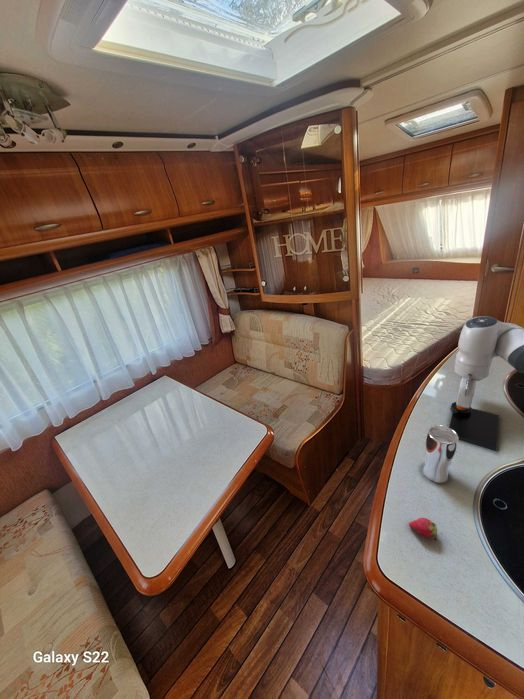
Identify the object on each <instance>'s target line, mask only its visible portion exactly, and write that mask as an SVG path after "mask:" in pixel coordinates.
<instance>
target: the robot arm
mask: <svg viewBox="0 0 524 699" xmlns="http://www.w3.org/2000/svg"><path fill="white" fill-rule="evenodd" d="M457 345H458V352H457V353H456V355H455V361H454V365H453V371H454V373H455V374H456V375H457V376H458V378H459V379H461V380H460V384H459V386H458V392H457V397H456V401H455V402H456V405H457V406H460V407H464V408H470V407H471V408H472V403H473V399H474V394H475V389H476V384H477V382H479V381H482V380H483V379H486V378H488V376H489V374H490V370H491V366H492V362H493V359H494V358H496V357H499V358H501V359H502V360H504V361H505V362H506V363H508V364H509V365H510V366H511V367H512V368H513V369H514V370H515V371H517V372H518V373H519V374H523V375H524V327H522V326H520V325H518V324H515V323H512V322H503V321H500V320H498V319H497V318H496V317H493V316H488V315H487V316H486V315H484V316H483V315H481V316H475V317H472V318H469V319H468V320H466V322H465V323H464V324H463V326H462V329H461V332H460V335H459V339H458V344H457Z"/></svg>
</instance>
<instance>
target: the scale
mask: <svg viewBox="0 0 524 699" xmlns="http://www.w3.org/2000/svg"><path fill="white" fill-rule="evenodd" d="M456 406H457V405H456V401H454V402H452V403H451V405H450V411H451V412H452V414H451V418H450V421H449V426H448V427H449V428H451V429H452V430H454V431H455V432H456V433H457V435H458V437H459V439H458V441H462V442H464V443H468V444H470V445H471V444H472V445H474V446H478V447H481V448H484V449H488V450H491V451H494V452H496V451H497V448H498V434H499V419H500V415H499V414H496V413H491V412H488V411H484V410H480V409H476V408H472V406H471V407H470V408H467V409H466V410H464V411H463V410H459V409H457V407H456Z"/></svg>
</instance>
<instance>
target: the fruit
mask: <svg viewBox="0 0 524 699" xmlns="http://www.w3.org/2000/svg"><path fill="white" fill-rule="evenodd" d="M408 526H409V527H410V528H411V529H413V531H415V532H416V533H417V535H419V536H421V537H423V538H425V539H433V540H434V541H435V542H436V541H438V528H437V523H436V522H433V521H432V520H430V519H429V518H427V517H419V518H417V519H414V520H412V521H409V522H408Z"/></svg>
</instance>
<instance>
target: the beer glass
mask: <svg viewBox="0 0 524 699" xmlns="http://www.w3.org/2000/svg"><path fill="white" fill-rule="evenodd" d="M458 439H459V437H458V435H457V433H456V432H455V431H454V430H452V429H451V428H449V426H446V425H441V424H436V425H432V426H430V427H429V428H428V429H427V433H426V437H425V442H424V454H425V462H424V464H423V466H422V473H423V475H424V476H425V478H426V479H428V480H429V481H431V482H434V483H436V484H442V483H445V482H447V481H448V479H449V468H450V466H451V464H452V463H453V461H454V459H455V458H456V455H457V452H458V446H459V440H458Z"/></svg>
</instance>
